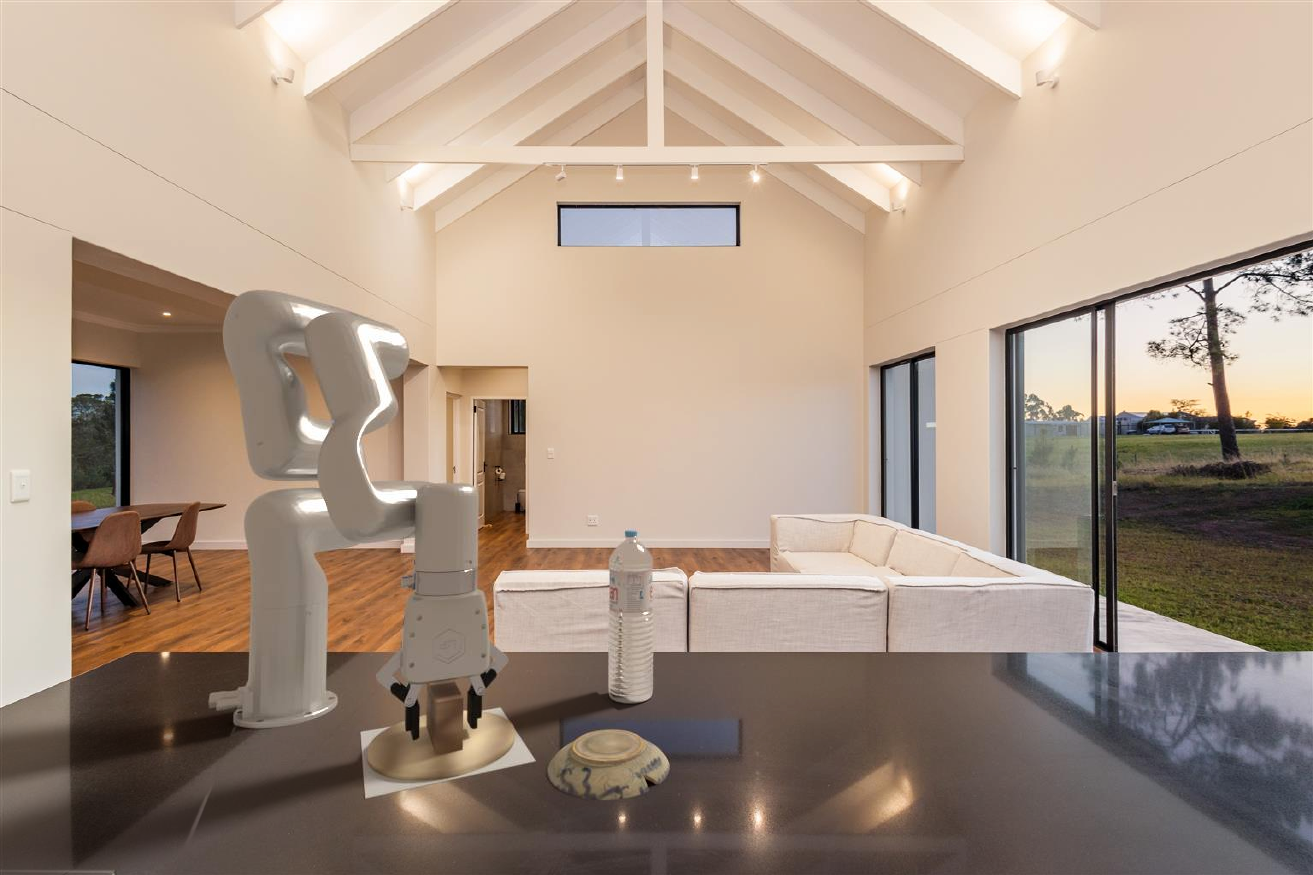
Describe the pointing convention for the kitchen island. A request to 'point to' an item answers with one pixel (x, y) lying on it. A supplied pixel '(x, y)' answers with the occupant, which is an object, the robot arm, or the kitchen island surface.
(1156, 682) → the kitchen island surface
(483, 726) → the lid
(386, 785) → the mat
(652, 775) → the decorative bowl
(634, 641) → the water bottle
